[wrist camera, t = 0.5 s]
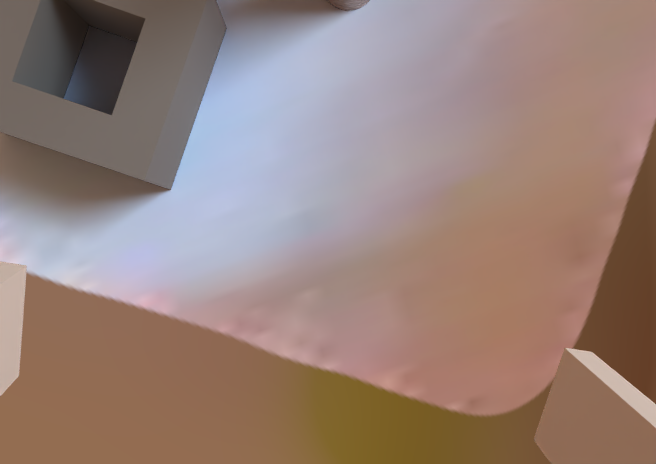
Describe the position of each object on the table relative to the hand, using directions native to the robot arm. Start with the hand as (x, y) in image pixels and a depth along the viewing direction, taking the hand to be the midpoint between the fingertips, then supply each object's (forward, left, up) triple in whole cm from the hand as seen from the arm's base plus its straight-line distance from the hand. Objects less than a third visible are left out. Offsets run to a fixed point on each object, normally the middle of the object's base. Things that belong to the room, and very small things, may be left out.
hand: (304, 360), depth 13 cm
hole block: (-9, -17, -24) cm, 31 cm away
